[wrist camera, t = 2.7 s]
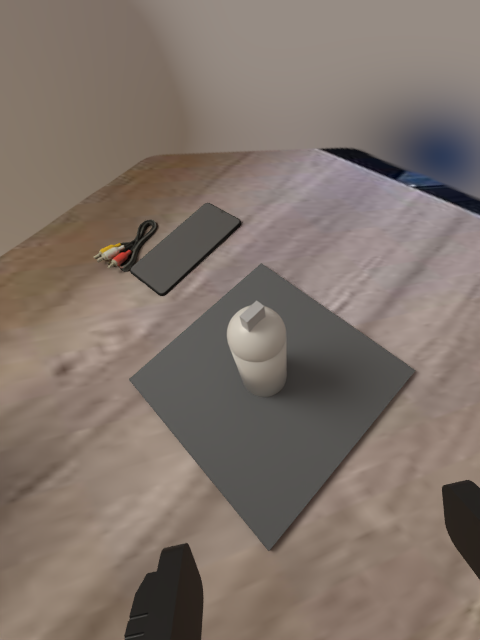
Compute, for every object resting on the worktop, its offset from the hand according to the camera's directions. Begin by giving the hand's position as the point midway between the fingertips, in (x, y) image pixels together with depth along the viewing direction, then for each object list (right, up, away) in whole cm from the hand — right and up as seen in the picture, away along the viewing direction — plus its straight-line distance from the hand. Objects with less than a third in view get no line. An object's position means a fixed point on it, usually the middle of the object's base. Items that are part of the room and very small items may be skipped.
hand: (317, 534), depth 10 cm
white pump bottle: (0, +1, +21) cm, 21 cm away
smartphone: (-9, +16, +33) cm, 37 cm away
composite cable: (-17, +16, +34) cm, 41 cm away
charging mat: (0, +1, +22) cm, 22 cm away
